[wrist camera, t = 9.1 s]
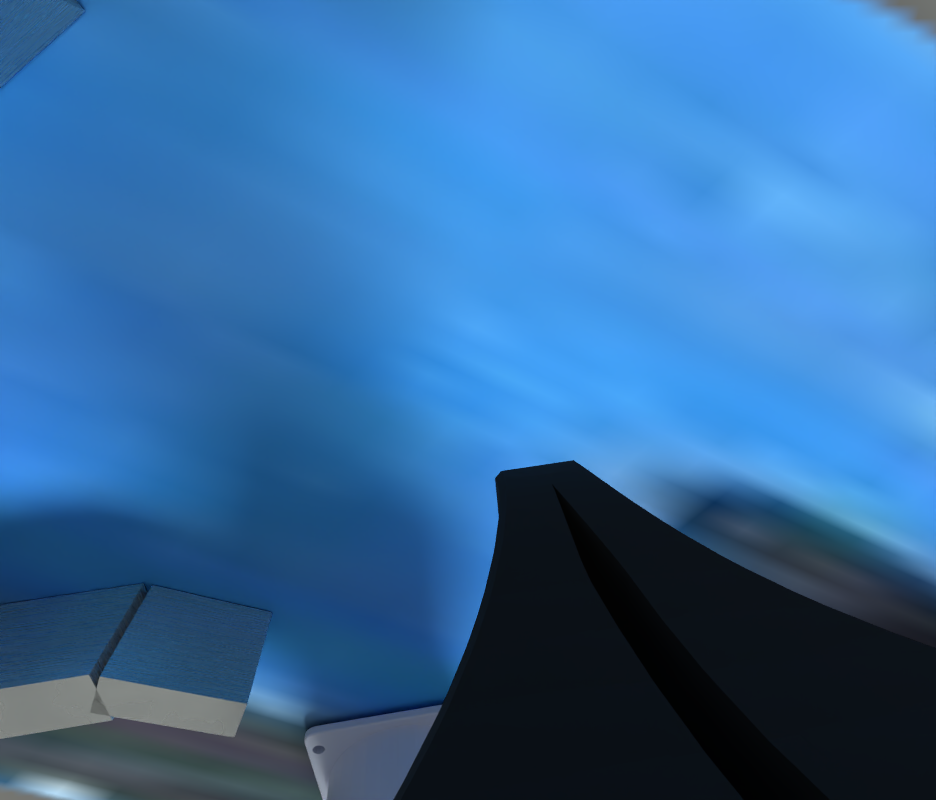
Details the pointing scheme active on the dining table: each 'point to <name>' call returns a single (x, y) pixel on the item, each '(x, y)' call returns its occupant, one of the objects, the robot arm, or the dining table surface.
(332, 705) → the dining table surface
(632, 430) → the dining table surface
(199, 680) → the motor block
